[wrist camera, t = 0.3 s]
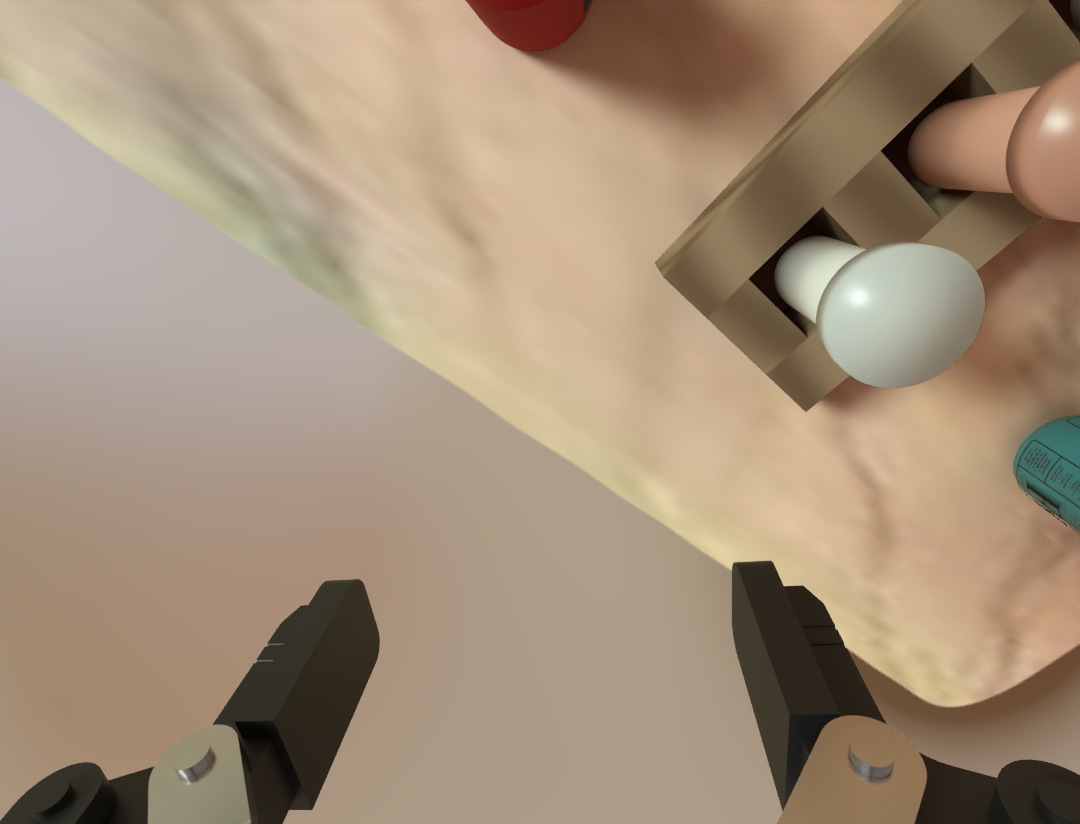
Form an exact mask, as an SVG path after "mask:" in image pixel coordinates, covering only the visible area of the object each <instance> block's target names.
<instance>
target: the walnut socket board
mask: <svg viewBox="0 0 1080 824" xmlns="http://www.w3.org/2000/svg"><path fill="white" fill-rule="evenodd" d="M1079 58H1080V42H1079V41H1078V39H1077V38H1076V37H1075V35H1074V34H1073V33H1072V31H1071V30H1070V29H1069V27H1068V26H1067V25H1066V23H1065V22H1064V21H1063V19H1062V18H1061V17H1060V15H1059V14H1058V13H1057V11H1056V10H1055V9H1054V7H1053V6H1052V5H1051V3H1050V2H1049V1H1048V0H903V1H902V2H901V3H900V4H899V5H898V7H897V8H896V9H895V10H894V11H893V12H892V13H891V14H890V15H889V16H888V17H887V18H886V19H885V20H884V21H883V22H882V23H881V24H880V26H879V27H878V28H877V29H876V30H875V31H874V32H873V33H872V34H871V35H870V36H869V37H868V38H867V39H866V40H865V41H864V42H863V43H862V45H861V46H860V47H859V48H858V49H857V50H856V51H855V52H854V53H853V54H852V55H851V56H850V57H849V58H848V59H847V60H846V61H845V63H844V64H843V65H842V66H841V67H840V68H839V69H838V70H837V71H836V72H835V73H834V74H833V75H832V76H831V77H830V78H829V79H828V80H827V82H826V83H825V84H824V85H823V86H822V87H821V88H820V89H819V90H818V91H817V92H816V93H815V94H814V95H813V96H812V97H811V98H810V99H809V101H808V102H807V103H806V104H805V105H804V106H803V107H802V108H801V109H800V110H799V111H798V112H797V113H796V114H795V115H794V116H793V117H792V119H791V120H790V121H789V122H788V123H787V124H786V125H785V126H784V127H783V128H782V129H781V130H780V131H779V132H778V133H777V134H776V135H775V136H774V138H773V139H772V140H771V141H770V142H769V143H768V144H767V145H766V146H765V147H764V148H763V149H762V150H761V151H760V152H759V153H758V154H757V155H756V157H755V158H754V159H753V160H752V161H751V162H750V163H749V164H748V165H747V166H746V167H745V168H744V169H743V170H742V171H741V172H740V173H739V175H738V176H737V177H736V178H735V179H734V180H733V181H732V182H731V183H730V184H729V185H728V186H727V187H726V188H725V189H724V190H723V191H722V192H721V194H720V195H719V196H718V197H717V198H716V199H715V200H714V201H713V202H712V203H711V204H710V205H709V206H708V207H707V208H706V209H705V210H704V212H703V213H702V214H701V215H700V216H699V217H698V218H697V219H696V220H695V221H694V222H693V223H692V224H691V225H690V226H689V227H688V228H687V229H686V231H685V232H684V233H683V234H682V235H681V236H680V237H679V238H678V239H677V240H676V241H675V242H674V243H673V244H672V245H671V246H670V247H669V248H668V250H667V251H666V252H665V253H664V254H663V255H662V256H661V257H660V258H659V259H658V260H657V261H656V262H655V264H656V266H657V267H658V269H659V271H660V272H661V274H662V275H663V277H664V278H665V279H666V280H667V281H668V282H669V283H670V284H671V285H672V286H673V287H674V288H676V289H677V290H678V291H679V292H680V293H681V294H682V295H683V296H684V297H685V298H686V299H687V300H688V301H689V302H690V303H691V304H692V305H693V306H695V307H696V308H697V309H698V310H699V311H700V312H701V313H702V314H703V315H704V316H705V317H706V318H707V319H708V320H709V321H710V322H711V323H712V324H714V325H715V326H716V327H717V328H718V329H719V330H720V331H721V332H722V333H723V334H724V335H725V336H726V337H727V338H728V339H729V340H730V341H731V342H733V343H734V344H735V345H736V346H737V347H738V348H739V349H740V350H741V351H742V352H743V353H744V354H745V355H746V356H747V357H748V358H749V359H750V360H752V361H753V362H754V363H755V364H756V365H757V366H758V367H759V368H760V369H761V370H762V371H763V372H764V373H765V374H766V375H767V376H768V377H769V378H770V379H772V380H773V381H774V382H775V383H776V384H777V385H778V386H779V387H780V388H781V389H782V390H783V391H784V392H785V393H786V394H787V395H788V396H789V397H791V398H792V399H793V400H794V401H795V402H796V403H797V404H798V405H799V406H800V407H801V408H802V409H803V410H804V411H805V412H806V411H808V410H809V409H810V408H811V407H812V406H814V405H815V404H816V403H817V402H818V401H820V400H821V399H822V398H823V397H825V396H826V395H827V394H828V393H829V392H831V391H832V390H833V389H834V388H835V387H837V386H838V385H839V384H840V383H841V382H843V381H844V380H845V379H846V378H848V377H849V376H850V375H849V374H848V373H847V372H845V371H844V370H843V369H842V368H841V367H839V366H838V365H837V364H836V363H835V362H833V361H832V360H831V359H830V358H829V357H828V355H827V354H826V353H825V351H824V350H823V348H822V346H821V344H820V341H819V339H818V335H817V330H816V324H815V323H813V322H812V321H811V320H809V319H808V318H807V317H805V316H804V315H802V314H801V313H800V312H798V311H797V310H796V309H794V308H793V307H792V308H791V309H790V310H789V311H787V312H786V313H785V314H783V313H782V312H781V311H780V310H779V309H778V308H777V307H776V306H775V305H774V304H773V303H772V302H771V301H770V300H769V299H768V298H767V297H766V296H765V295H764V294H763V293H762V292H761V291H760V290H759V289H758V288H757V287H756V286H755V285H754V284H753V283H752V282H751V281H750V280H749V279H748V278H749V277H750V276H752V275H753V274H754V273H755V272H756V271H757V270H758V269H759V268H760V267H761V266H762V265H763V264H764V263H765V262H766V261H767V260H768V259H769V258H770V257H771V256H772V255H773V254H774V253H775V252H776V251H777V250H778V249H779V248H780V247H781V246H783V245H784V244H785V243H786V242H787V241H788V240H789V239H790V238H791V237H792V236H793V235H794V234H795V233H796V232H797V231H798V230H799V229H800V228H801V227H802V226H803V225H804V224H805V223H806V222H807V221H808V220H809V219H810V220H811V221H812V222H813V223H814V224H815V225H816V226H817V227H818V228H819V229H820V230H821V231H822V232H823V233H824V234H825V235H826V236H827V237H830V238H833V239H836V240H839V241H843V242H846V243H849V244H852V245H855V246H858V247H862V248H865V249H869V248H871V247H874V246H877V245H880V244H883V243H888V242H893V241H914V242H919V243H924V244H928V245H932V246H936V247H940V248H944V249H947V250H950V251H952V252H954V253H956V254H958V255H960V256H961V257H963V258H964V259H965V260H967V261H968V262H969V263H970V264H971V265H972V266H973V267H974V269H975V270H976V271H977V270H978V269H979V268H981V267H982V266H983V265H984V264H985V263H987V262H988V261H989V260H990V259H991V258H993V257H994V256H995V255H996V254H997V253H999V252H1000V251H1001V250H1002V249H1004V248H1005V247H1006V246H1007V245H1008V244H1010V243H1011V242H1012V241H1013V240H1014V239H1016V238H1017V237H1018V236H1019V235H1020V234H1022V233H1023V232H1024V231H1025V230H1027V229H1028V228H1029V227H1030V226H1031V225H1033V224H1034V223H1035V222H1036V221H1037V220H1039V219H1040V218H1041V217H1042V216H1039V215H1037V214H1035V213H1033V212H1031V211H1030V210H1028V209H1027V208H1026V207H1024V206H1023V205H1022V204H1021V203H1020V202H1019V201H1018V199H1017V198H1016V197H1015V195H1014V193H1000V192H986V191H972V190H958V189H944V188H933V187H929V186H926V185H925V186H924V187H923V188H922V189H921V190H920V191H919V192H918V193H917V192H916V190H915V189H914V188H913V187H912V186H911V185H910V184H909V183H908V181H907V180H906V179H905V178H904V177H903V176H902V175H901V173H900V172H899V171H898V170H897V169H896V168H895V167H894V166H893V164H892V163H891V162H890V161H889V160H888V159H887V158H886V157H885V155H884V154H883V153H882V152H881V150H882V149H883V148H884V147H885V146H886V145H887V144H888V143H889V142H890V141H891V140H892V139H893V138H894V137H895V136H896V135H897V134H898V133H899V132H900V131H901V130H902V129H903V128H904V127H906V126H907V125H908V124H909V123H910V122H911V121H912V120H913V119H914V118H915V117H916V116H917V115H918V114H919V113H920V112H921V111H922V110H923V109H924V108H925V107H926V106H927V105H928V104H929V103H930V102H931V101H932V100H933V99H934V98H935V99H936V100H937V101H938V102H939V103H940V105H943V104H946V103H948V102H952V101H957V100H963V99H968V98H974V97H980V96H986V95H992V94H997V93H1003V92H1009V91H1015V90H1020V89H1026V88H1032V87H1038V86H1042V85H1043V84H1044V83H1045V82H1046V81H1047V80H1048V79H1049V78H1050V77H1051V76H1053V75H1054V74H1055V73H1056V72H1058V71H1059V70H1060V69H1062V68H1063V67H1065V66H1067V65H1068V64H1070V63H1071V62H1073V61H1075V60H1077V59H1079Z"/></svg>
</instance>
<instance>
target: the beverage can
mask: <svg viewBox="0 0 1080 824" xmlns="http://www.w3.org/2000/svg"><path fill="white" fill-rule="evenodd" d="M466 1H467V3H468V4H469V5H470V7H471V8H472V9H473V10H474V12H475V13H476V14H477V15H478V17H479V18H480V19H481V20H482V21H483V23H484V24H485V25H486V26H487V27H488V28H489V29H490V31H491V32H492V33H493V34H494V35H495V36H496V37H497V38H499V39H500V40H501V41H503V42H504V43H506V44H507V45H509V46H511V47H514V48H516V49H520V50H524V51H542V50H546V49H550V48H552V47H555V46H557V45H559V44H560V43H562V42H564V41H565V40H566V39H568V38H569V37H570V36H571V35H572V34H573V33H574V32H575V31H576V30H577V29H578V27H579V26H580V25H581V23H582V22H583V20H584V19H585V17H586V15H587V13H588V11H589V9H590V6H591V3H592V0H466Z"/></svg>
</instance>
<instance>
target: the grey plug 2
mask: <svg viewBox="0 0 1080 824" xmlns="http://www.w3.org/2000/svg"><path fill="white" fill-rule="evenodd" d="M1070 10H1071V16H1072V20H1073V22H1074V24H1075V26H1076V28H1077V29H1078V30H1079V31H1080V0H1071V3H1070Z"/></svg>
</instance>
